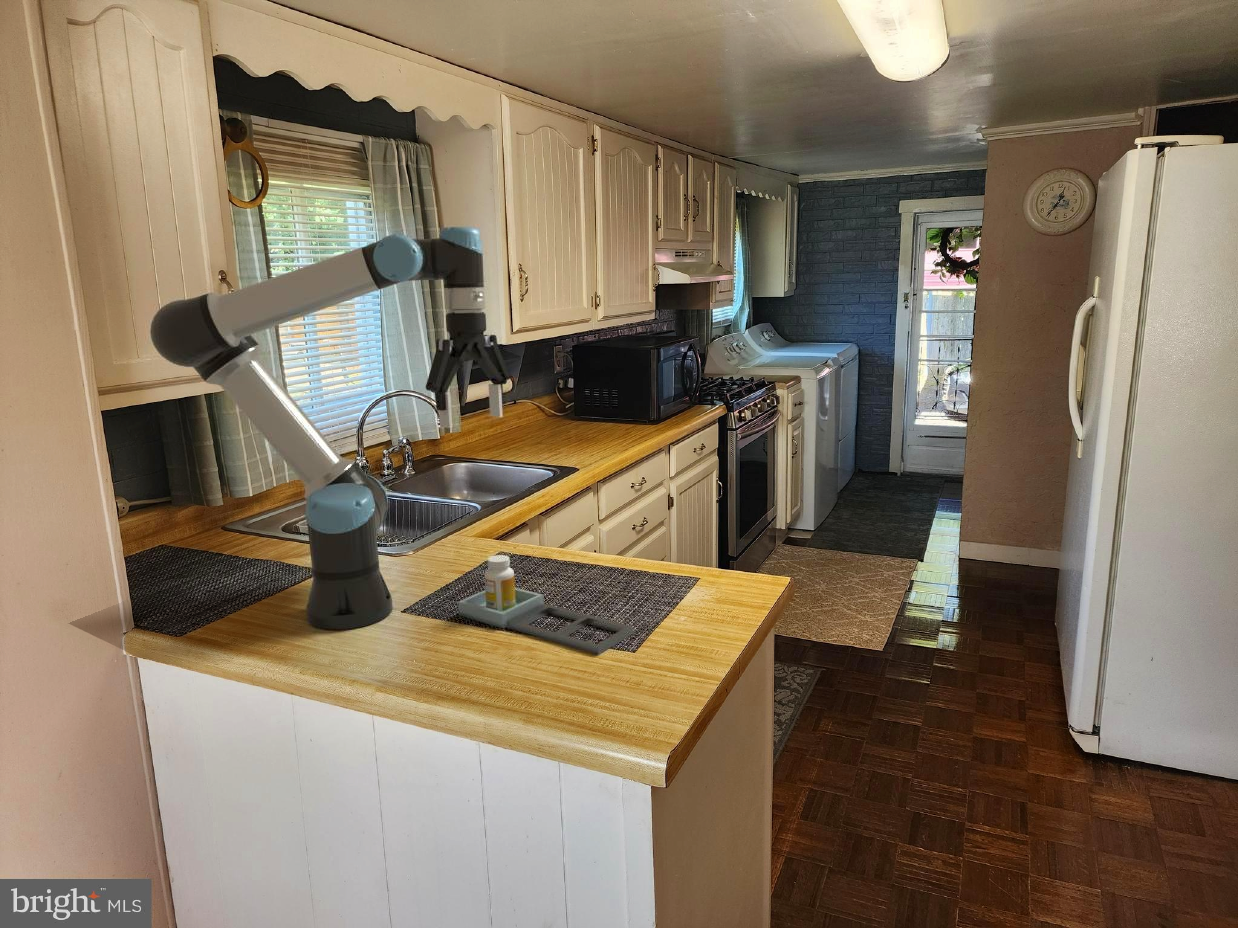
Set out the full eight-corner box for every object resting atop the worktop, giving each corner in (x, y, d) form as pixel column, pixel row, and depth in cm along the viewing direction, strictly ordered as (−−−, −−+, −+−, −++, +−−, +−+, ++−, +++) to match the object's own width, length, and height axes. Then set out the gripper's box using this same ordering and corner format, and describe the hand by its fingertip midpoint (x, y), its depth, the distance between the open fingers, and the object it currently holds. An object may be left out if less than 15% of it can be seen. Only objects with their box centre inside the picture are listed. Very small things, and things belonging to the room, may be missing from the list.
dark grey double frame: (598, 654, 137) (598, 647, 137) (507, 627, 148) (506, 621, 148) (633, 633, 145) (633, 626, 145) (544, 609, 156) (544, 603, 156)
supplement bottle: (517, 602, 158) (514, 553, 156) (514, 613, 153) (512, 562, 151) (488, 603, 158) (485, 554, 156) (484, 614, 153) (481, 563, 151)
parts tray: (503, 628, 148) (502, 614, 148) (458, 615, 155) (458, 601, 154) (543, 607, 157) (543, 594, 156) (500, 596, 163) (499, 583, 163)
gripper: (429, 314, 149) (437, 433, 153) (524, 308, 168) (529, 414, 173) (400, 314, 153) (409, 430, 157) (496, 308, 173) (502, 411, 177)
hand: (472, 421), depth 165 cm, fingers open, 13 cm apart
